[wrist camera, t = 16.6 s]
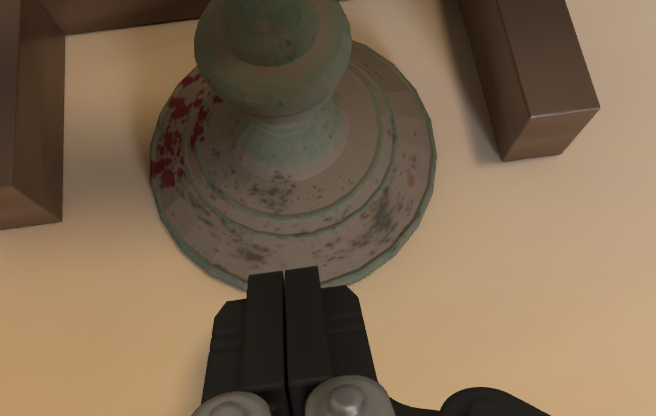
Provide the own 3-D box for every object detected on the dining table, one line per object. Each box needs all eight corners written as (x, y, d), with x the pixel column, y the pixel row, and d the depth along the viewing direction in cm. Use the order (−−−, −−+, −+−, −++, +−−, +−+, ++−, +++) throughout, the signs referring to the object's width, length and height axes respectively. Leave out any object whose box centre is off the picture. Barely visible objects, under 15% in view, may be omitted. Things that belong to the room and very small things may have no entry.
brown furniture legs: (562, 154, 19) (601, 108, 16) (-2, 230, 18) (-64, 197, 15) (497, -64, 22) (520, -136, 19) (11, -4, 21) (-40, -68, 18)
